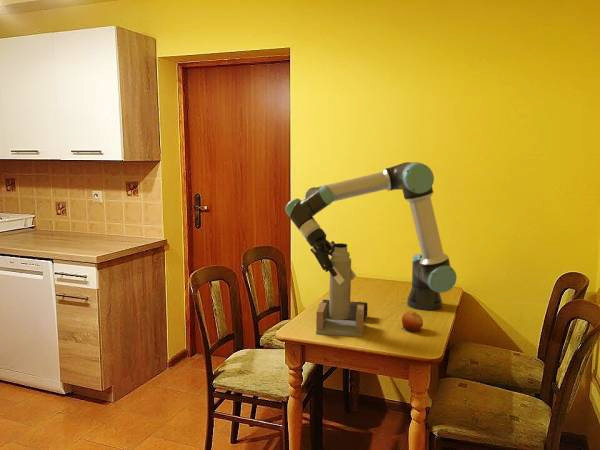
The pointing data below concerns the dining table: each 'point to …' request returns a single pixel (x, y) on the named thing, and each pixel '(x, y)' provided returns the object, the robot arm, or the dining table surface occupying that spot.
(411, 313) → the fruit
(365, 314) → the beverage carton
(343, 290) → the thermos bottle
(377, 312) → the dining table surface
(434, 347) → the dining table surface
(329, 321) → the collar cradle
